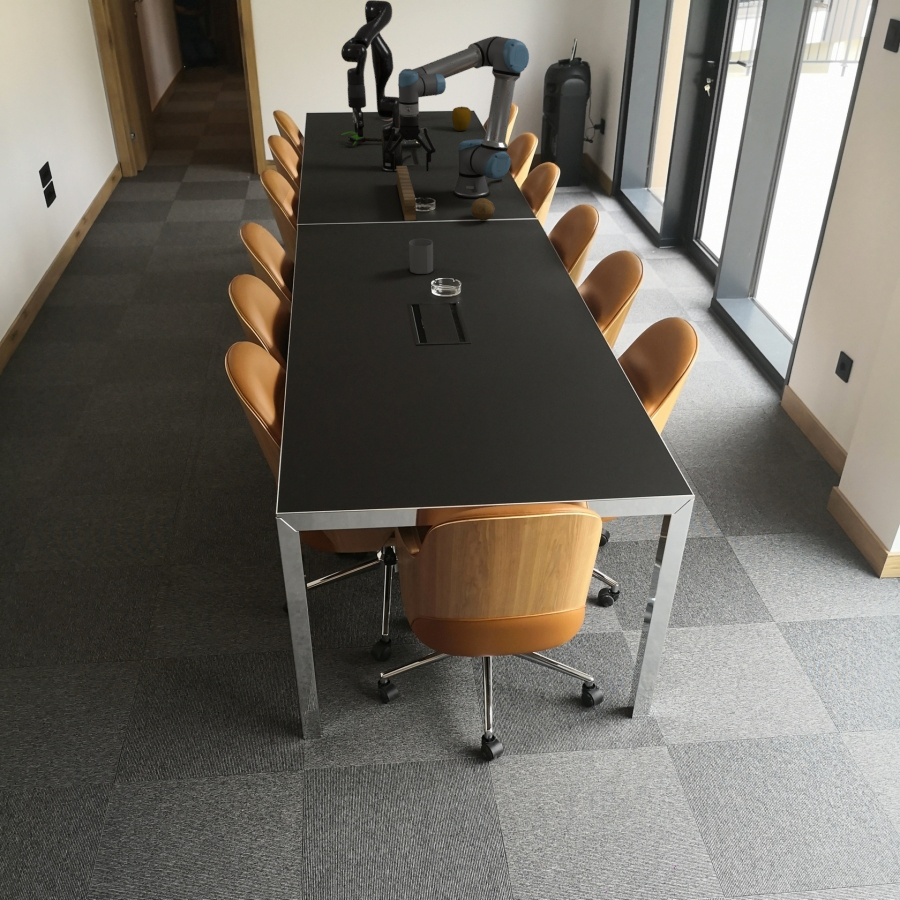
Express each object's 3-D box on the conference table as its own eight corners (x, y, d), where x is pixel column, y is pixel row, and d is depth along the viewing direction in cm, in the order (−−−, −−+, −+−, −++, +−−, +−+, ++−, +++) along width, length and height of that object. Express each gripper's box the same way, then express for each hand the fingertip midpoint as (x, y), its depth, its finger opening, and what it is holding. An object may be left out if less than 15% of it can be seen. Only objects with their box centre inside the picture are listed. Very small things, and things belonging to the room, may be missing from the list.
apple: (471, 132, 486) (471, 108, 479) (451, 132, 486) (451, 108, 479) (470, 128, 495) (471, 104, 488) (452, 128, 495) (452, 104, 488)
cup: (409, 265, 311) (408, 238, 306) (432, 265, 312) (431, 238, 307) (410, 274, 304) (409, 246, 299) (433, 273, 305) (433, 246, 299)
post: (396, 185, 398) (396, 166, 393) (407, 185, 399) (406, 165, 394) (404, 220, 355) (404, 199, 350) (416, 220, 355) (415, 199, 351)
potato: (492, 213, 362) (492, 194, 358) (496, 224, 351) (496, 204, 346) (468, 214, 362) (469, 194, 358) (472, 224, 350) (472, 205, 346)
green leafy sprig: (396, 128, 464) (339, 126, 462) (395, 143, 457) (338, 141, 454) (395, 137, 469) (340, 135, 466) (395, 153, 462) (339, 151, 459)
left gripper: (368, 98, 363) (370, 138, 372) (362, 91, 375) (364, 130, 384) (350, 99, 362) (353, 139, 371) (345, 92, 373) (347, 131, 382)
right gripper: (376, 116, 333) (378, 172, 344) (441, 116, 333) (441, 172, 344) (377, 112, 339) (380, 167, 351) (441, 112, 339) (441, 167, 351)
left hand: (359, 134), depth 377 cm, fingers open, 8 cm apart
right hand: (410, 170), depth 348 cm, fingers open, 13 cm apart
